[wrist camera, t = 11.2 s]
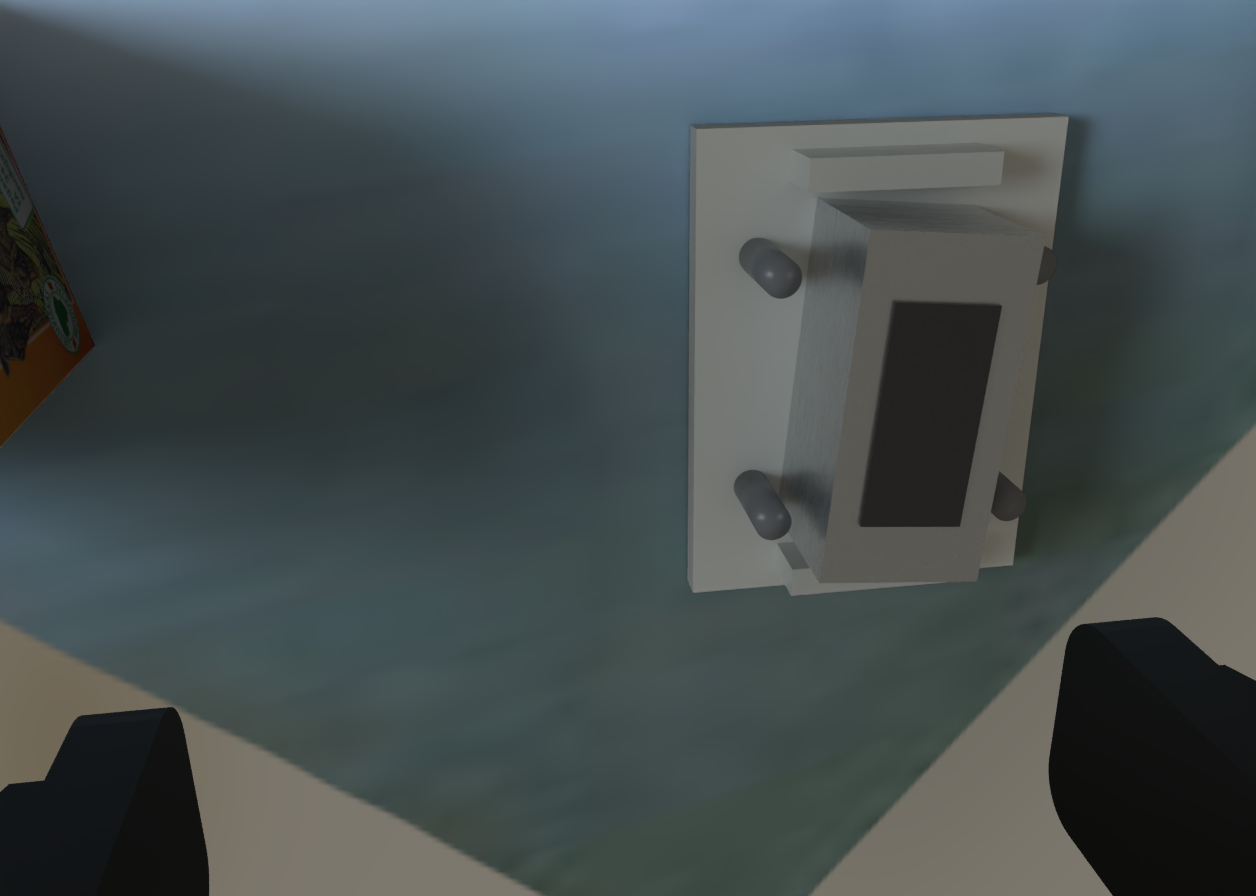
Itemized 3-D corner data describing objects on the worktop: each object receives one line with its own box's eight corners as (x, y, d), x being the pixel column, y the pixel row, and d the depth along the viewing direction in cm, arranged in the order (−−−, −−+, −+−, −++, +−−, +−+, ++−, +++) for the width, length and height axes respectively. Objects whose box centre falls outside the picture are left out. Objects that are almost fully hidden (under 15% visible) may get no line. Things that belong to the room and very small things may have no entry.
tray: (690, 125, 36) (718, 142, 33) (1053, 113, 38) (1119, 127, 34) (687, 579, 42) (710, 636, 39) (1000, 552, 44) (1051, 605, 40)
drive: (817, 197, 37) (872, 230, 32) (972, 204, 38) (1048, 237, 33) (776, 514, 41) (820, 585, 36) (917, 514, 42) (979, 584, 37)
